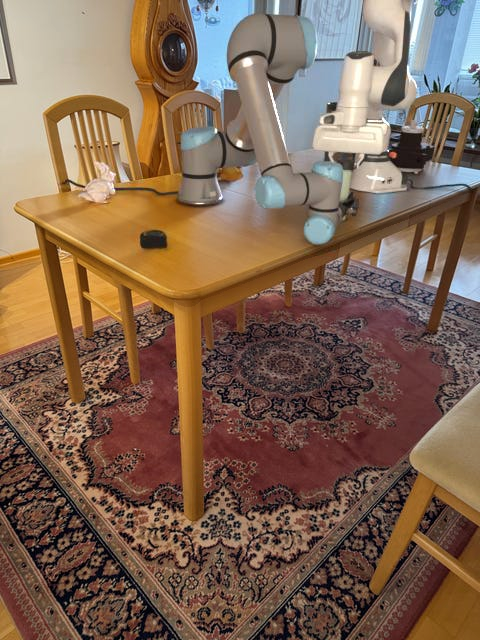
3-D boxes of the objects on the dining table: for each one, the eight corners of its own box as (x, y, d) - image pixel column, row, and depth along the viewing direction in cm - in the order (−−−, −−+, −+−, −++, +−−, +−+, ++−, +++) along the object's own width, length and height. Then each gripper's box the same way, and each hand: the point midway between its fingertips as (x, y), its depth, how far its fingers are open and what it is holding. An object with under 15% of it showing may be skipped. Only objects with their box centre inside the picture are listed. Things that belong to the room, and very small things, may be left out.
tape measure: (140, 252, 115) (139, 238, 113) (141, 242, 120) (140, 229, 119) (167, 251, 116) (166, 237, 114) (167, 241, 121) (166, 228, 120)
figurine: (124, 198, 157) (120, 160, 151) (89, 208, 146) (83, 167, 140) (108, 194, 161) (103, 157, 155) (73, 204, 150) (67, 164, 144)
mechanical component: (380, 119, 194) (409, 114, 214) (372, 170, 205) (400, 161, 225) (430, 124, 182) (455, 119, 202) (419, 178, 193) (444, 167, 213)
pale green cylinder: (329, 216, 145) (336, 161, 136) (343, 216, 145) (350, 161, 136) (332, 220, 141) (339, 164, 132) (346, 220, 141) (355, 164, 132)
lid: (343, 170, 132) (344, 162, 131) (331, 167, 136) (332, 159, 135) (358, 169, 134) (359, 161, 133) (346, 165, 138) (347, 158, 137)
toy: (211, 173, 177) (218, 164, 190) (217, 189, 180) (223, 179, 193) (237, 164, 174) (242, 156, 187) (243, 180, 177) (247, 171, 189)
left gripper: (297, 224, 130) (315, 203, 149) (359, 232, 124) (369, 210, 143) (299, 198, 126) (317, 180, 145) (363, 205, 121) (373, 186, 139)
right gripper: (388, 118, 129) (379, 168, 136) (316, 114, 133) (311, 163, 140) (389, 120, 123) (380, 172, 130) (314, 117, 127) (309, 167, 134)
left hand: (343, 195), depth 144 cm, fingers closed on pale green cylinder, 5 cm apart
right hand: (344, 168), depth 135 cm, fingers closed on lid, 5 cm apart
